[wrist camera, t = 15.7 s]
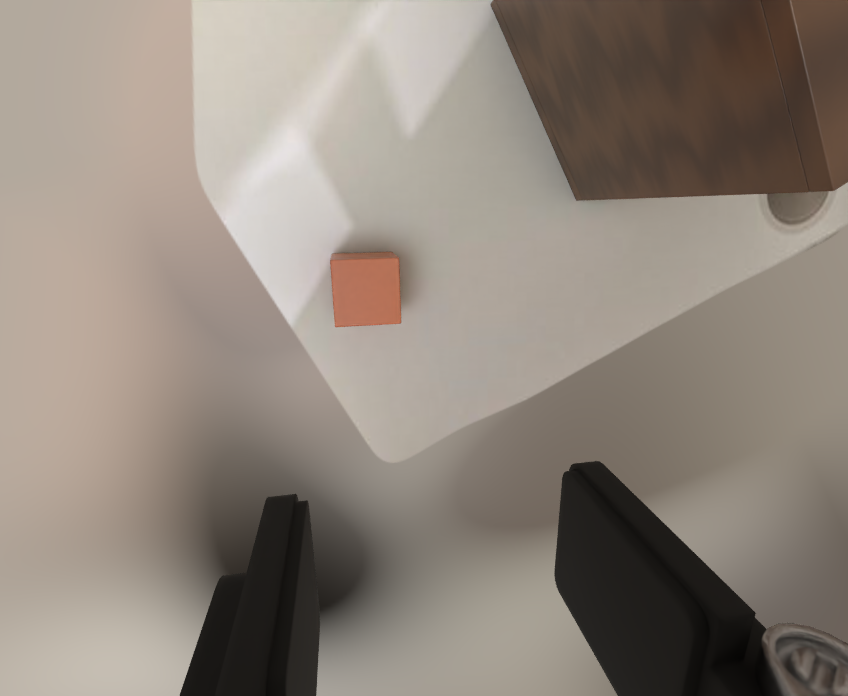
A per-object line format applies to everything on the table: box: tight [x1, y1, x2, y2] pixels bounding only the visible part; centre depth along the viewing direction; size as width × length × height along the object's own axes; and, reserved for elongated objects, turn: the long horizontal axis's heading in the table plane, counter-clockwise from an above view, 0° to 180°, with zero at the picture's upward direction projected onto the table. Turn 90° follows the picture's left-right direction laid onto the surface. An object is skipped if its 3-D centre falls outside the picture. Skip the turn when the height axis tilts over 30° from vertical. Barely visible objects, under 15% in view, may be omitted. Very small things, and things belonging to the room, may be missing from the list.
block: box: [330, 252, 401, 327], centre depth 40 cm, size 6×6×6 cm
